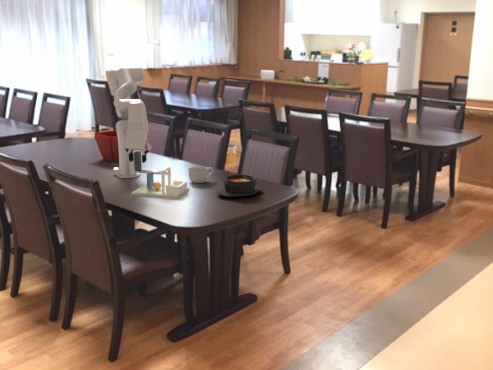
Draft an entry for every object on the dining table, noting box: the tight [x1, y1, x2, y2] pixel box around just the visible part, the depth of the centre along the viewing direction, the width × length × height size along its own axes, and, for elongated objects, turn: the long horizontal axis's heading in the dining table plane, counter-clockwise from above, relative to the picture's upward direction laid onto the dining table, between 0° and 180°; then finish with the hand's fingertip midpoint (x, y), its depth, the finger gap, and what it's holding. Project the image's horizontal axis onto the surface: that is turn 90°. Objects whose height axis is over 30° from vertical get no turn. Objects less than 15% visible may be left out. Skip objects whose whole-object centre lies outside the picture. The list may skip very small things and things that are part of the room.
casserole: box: [216, 174, 263, 198], centre depth 286 cm, size 25×19×8 cm
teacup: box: [187, 165, 214, 184], centre depth 307 cm, size 14×11×8 cm
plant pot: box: [94, 129, 119, 163], centre depth 355 cm, size 19×19×17 cm
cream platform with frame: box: [131, 166, 190, 200], centre depth 286 cm, size 24×18×13 cm
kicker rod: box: [134, 150, 170, 189], centre depth 286 cm, size 18×5×18 cm, turn 76°
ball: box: [153, 181, 162, 190], centre depth 288 cm, size 4×4×4 cm
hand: (137, 161), depth 287 cm, fingers open, 6 cm apart
